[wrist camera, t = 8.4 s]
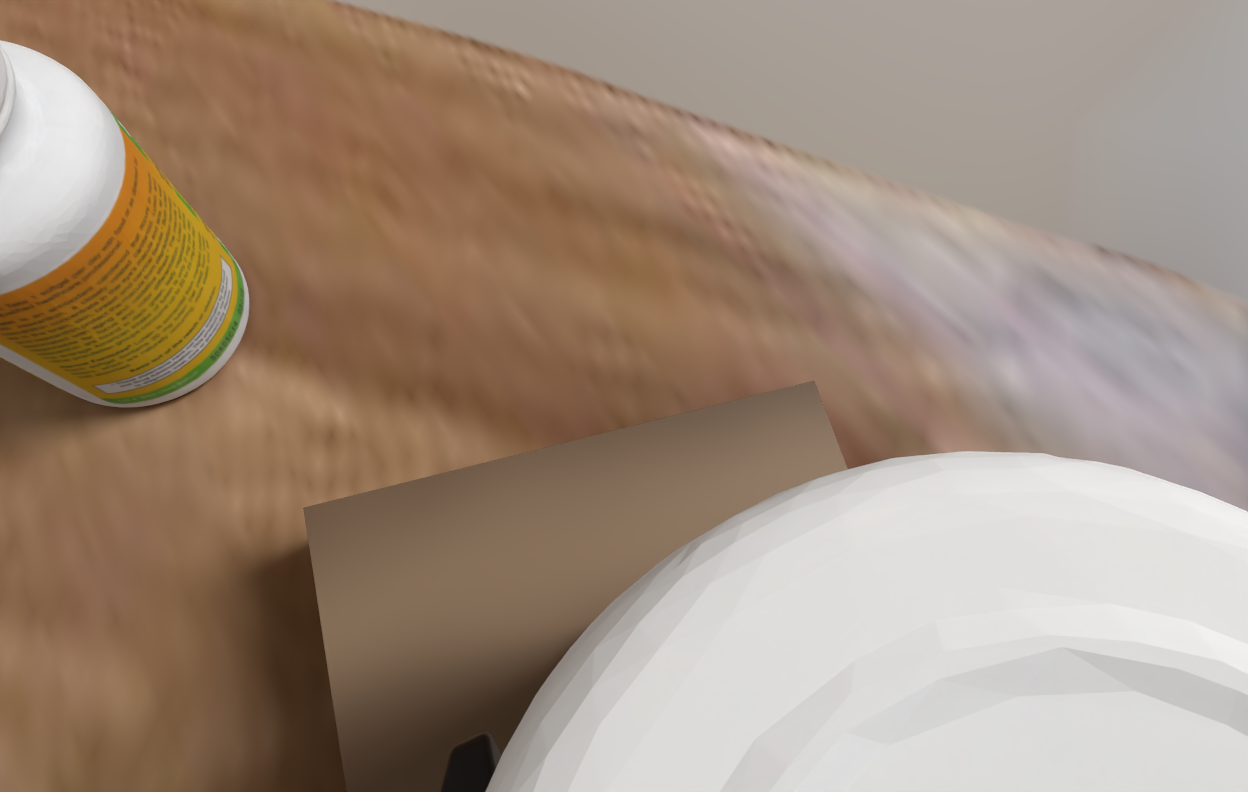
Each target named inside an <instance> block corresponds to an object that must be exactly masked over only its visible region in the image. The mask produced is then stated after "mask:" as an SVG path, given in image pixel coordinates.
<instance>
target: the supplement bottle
mask: <svg viewBox="0 0 1248 792" xmlns="http://www.w3.org/2000/svg"><path fill="white" fill-rule="evenodd" d="M248 316H249V293H248V287H247V283H246V280H245V277H244V275H243V273H242V271H241V268H240V267H239V265H238V263H237V262H236V260H235V259H234V258H233V256H232V255H231V254H230V252H229V251H228V250H227V249H226V247H225V246H224V245H223V244H222V242H221V241H220V240H219V239H218V238H217V236H216V235H215V234H214V233H213V232H212V231H211V230H210V229H209V227H208V226H207V225H206V224H205V223H204V222H203V220H202V219H201V218H200V217H199V216H198V215H197V213H196V212H195V211H194V210H193V209H192V208H191V206H190V205H189V204H188V203H187V202H186V200H185V199H184V198H183V197H182V196H181V195H180V194H179V192H178V191H177V190H176V189H175V188H174V186H173V185H172V184H171V183H170V182H169V181H168V179H167V178H166V177H165V176H164V175H163V173H162V172H161V171H160V170H159V169H158V167H157V166H156V165H155V164H154V163H153V162H152V160H151V159H150V158H149V157H148V156H147V154H146V153H145V152H144V151H143V150H142V149H141V147H140V146H139V145H138V144H137V143H136V142H135V140H134V139H133V138H132V137H131V135H130V134H129V133H128V132H127V130H126V129H125V128H124V127H123V125H122V124H121V123H120V122H119V121H118V119H117V118H116V117H115V116H114V115H113V113H112V112H111V111H110V110H109V109H108V108H107V106H106V105H105V104H104V103H103V102H102V101H101V100H100V99H99V97H98V96H97V95H96V94H95V93H94V92H93V91H92V90H91V89H90V88H89V87H88V86H87V85H86V84H85V83H84V82H83V81H82V79H80V78H79V77H78V76H77V75H76V74H74V73H73V72H72V71H70V70H69V69H67V68H66V67H64V66H63V65H61V64H60V63H58V62H56V61H55V60H53V59H51V58H49V57H47V56H45V55H43V54H41V53H39V52H36V51H34V50H32V49H29V48H26V47H23V46H20V45H17V44H13V43H9V42H6V41H0V358H1V359H3V360H5V361H7V362H9V363H11V364H13V365H15V366H17V367H19V368H21V369H22V370H24V371H26V372H28V373H30V374H32V375H34V376H36V377H38V378H40V379H42V380H44V381H45V382H47V383H49V384H51V385H53V386H55V387H57V388H59V389H61V390H63V391H65V392H68V393H70V394H73V395H75V396H77V397H79V398H81V399H84V400H87V401H89V402H92V403H96V404H100V405H105V406H112V407H142V406H149V405H154V404H159V403H162V402H165V401H169V400H172V399H175V398H177V397H179V396H182V395H184V394H186V393H188V392H190V391H192V390H194V389H196V388H197V387H199V386H200V385H202V384H203V383H205V382H206V381H208V380H209V379H210V378H211V377H213V376H214V375H215V374H216V373H217V372H218V371H219V370H220V369H221V368H222V367H223V366H224V365H225V364H226V362H227V361H228V360H229V358H230V357H231V356H232V354H233V353H234V351H235V350H236V348H237V346H238V345H239V343H240V341H241V339H242V336H243V334H244V331H245V328H246V325H247V320H248Z"/></svg>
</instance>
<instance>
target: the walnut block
mask: <svg viewBox="0 0 1248 792" xmlns="http://www.w3.org/2000/svg"><path fill="white" fill-rule="evenodd" d="M844 470H848V469H847V466H846V463H845V461H844V458H843V455H842V453H841V450H840V447H839V445H838V442H837V440H836V437H835V434H834V432H833V429H832V426H831V424H830V421H829V418H828V416H827V413H826V411H825V408H824V405H823V403H822V400H821V397H820V395H819V392H818V390H817V387H816V384H815V382H814V381H811V382H807V383H803V384H799V385H795V386H791V387H787V388H783V389H779V390H775V391H771V392H767V393H763V394H759V395H755V396H751V397H747V398H743V399H739V400H735V401H731V402H727V403H723V404H719V405H715V406H711V407H707V408H703V409H699V410H695V411H691V412H687V413H683V414H679V415H674V416H670V417H666V418H662V419H658V420H654V421H650V422H646V423H642V424H638V425H634V426H630V427H626V428H622V429H618V430H614V431H610V432H606V433H602V434H598V435H594V436H590V437H586V438H582V439H578V440H574V441H570V442H566V443H562V444H558V445H554V446H550V447H546V448H542V449H538V450H534V451H530V452H526V453H522V454H518V455H514V456H510V457H506V458H502V459H498V460H494V461H490V462H486V463H482V464H478V465H474V466H470V467H466V468H462V469H458V470H454V471H450V472H446V473H442V474H438V475H433V476H429V477H425V478H421V479H417V480H413V481H409V482H405V483H401V484H397V485H393V486H389V487H385V488H381V489H377V490H373V491H369V492H365V493H361V494H357V495H353V496H349V497H345V498H341V499H337V500H333V501H329V502H325V503H321V504H317V505H313V506H309V507H305V508H303V509H304V515H305V522H306V528H307V535H308V542H309V548H310V555H311V562H312V568H313V575H314V581H315V588H316V595H317V601H318V608H319V615H320V621H321V628H322V635H323V641H324V648H325V654H326V661H327V668H328V674H329V681H330V688H331V694H332V701H333V707H334V714H335V721H336V727H337V734H338V741H339V747H340V754H341V760H342V767H343V774H344V780H345V787H346V792H440V790H441V786H442V782H443V778H444V774H445V770H446V766H447V763H448V759H449V755H450V752H451V750H452V749H453V747H454V746H455V745H457V744H458V743H460V742H462V741H464V740H467V739H469V738H471V737H473V736H475V735H477V734H479V733H481V732H488V733H490V734H491V735H492V737H493V739H494V741H495V743H496V745H497V747H498V749H499V751H500V753H501V755H502V754H503V752H504V750H505V748H506V747H507V745H508V743H509V741H510V740H511V738H512V736H513V734H514V732H515V731H516V729H517V727H518V725H519V724H520V722H521V720H522V718H523V716H524V715H525V713H526V711H527V709H528V708H529V706H530V704H531V702H532V701H533V699H534V697H535V695H536V694H537V692H538V691H539V690H540V688H541V687H542V685H543V684H544V682H545V681H546V679H547V678H548V677H549V675H550V674H551V672H552V671H553V670H554V668H555V667H556V666H557V665H558V663H559V662H560V661H561V659H562V658H563V657H564V655H565V654H566V653H567V651H568V650H569V649H570V648H571V646H572V645H573V644H574V643H575V642H576V641H577V639H578V638H579V637H580V636H581V635H582V634H583V632H584V631H585V630H586V629H587V628H588V627H589V625H590V624H591V623H592V622H593V621H594V620H595V619H596V618H597V617H598V616H599V615H600V614H601V613H602V612H603V611H604V610H605V609H606V608H607V607H608V606H609V605H610V604H611V603H612V602H613V601H614V600H615V599H616V598H617V597H619V596H620V595H621V594H622V593H623V592H624V591H626V590H627V589H628V588H629V587H630V586H632V585H633V584H634V583H635V582H636V581H637V580H639V579H640V578H641V577H642V576H643V575H645V574H646V573H647V572H648V571H649V570H651V569H652V568H653V567H654V566H655V565H657V564H658V563H659V562H661V561H662V560H663V559H665V558H666V557H667V556H669V555H670V554H671V553H673V552H674V551H676V550H677V549H679V548H681V547H682V546H684V545H686V544H687V543H689V542H691V541H692V540H694V539H696V538H697V537H699V536H701V535H702V534H704V533H706V532H707V531H709V530H711V529H712V528H714V527H716V526H717V525H719V524H721V523H722V522H724V521H726V520H727V519H729V518H731V517H732V516H734V515H736V514H738V513H740V512H742V511H744V510H746V509H748V508H750V507H752V506H754V505H756V504H758V503H760V502H762V501H764V500H766V499H768V498H770V497H772V496H774V495H775V494H778V493H780V492H783V491H785V490H788V489H791V488H793V487H796V486H799V485H801V484H804V483H807V482H809V481H812V480H815V479H817V478H820V477H824V476H827V475H830V474H833V473H836V472H840V471H844Z"/></svg>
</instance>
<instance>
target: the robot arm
mask: <svg viewBox="0 0 1248 792" xmlns="http://www.w3.org/2000/svg"><path fill="white" fill-rule="evenodd" d="M501 756H502V755H501V753H500V751H499V749H498V747H497V745H496V743H495V741H494V739H493V737H492V735H491V734H490V733H488V732H481V733H479V734H477V735H475V736H473V737H471V738H469V739H467V740H464V741H462V742H460V743H458V744H457V745H455V746H454V747H453V749H452V750H451V752H450V755H449V759H448V763H447V766H446V770H445V774H444V778H443V782H442V786H441V790H440V792H486V789H487V787H488V785H489V783H490V780H491V778H492V776H493V774H494V772H495V769H496V767H497V765H498V763H499V760H500V758H501Z"/></svg>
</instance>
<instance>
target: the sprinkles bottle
mask: <svg viewBox="0 0 1248 792" xmlns="http://www.w3.org/2000/svg"><path fill="white" fill-rule="evenodd" d="M486 792H1248V512H1247V511H1245V510H1242V509H1240V508H1238V507H1235V506H1233V505H1230V504H1228V503H1226V502H1223V501H1221V500H1218V499H1216V498H1214V497H1211V496H1209V495H1206V494H1204V493H1202V492H1199V491H1196V490H1193V489H1190V488H1187V487H1184V486H1181V485H1178V484H1175V483H1172V482H1168V481H1165V480H1162V479H1159V478H1156V477H1153V476H1150V475H1147V474H1144V473H1141V472H1138V471H1135V470H1132V469H1129V468H1125V467H1120V466H1115V465H1110V464H1106V463H1101V462H1095V461H1087V460H1078V459H1070V458H1061V457H1055V456H1052V455H1048V454H1045V453H1010V452H969V451H962V452H952V453H942V454H931V455H921V456H911V457H900V458H891V459H887V460H884V461H880V462H876V463H872V464H868V465H864V466H860V467H856V468H852V469H848V470H844V471H840V472H836V473H833V474H830V475H827V476H824V477H820V478H817V479H815V480H812V481H809V482H807V483H804V484H801V485H799V486H796V487H793V488H791V489H788V490H785V491H783V492H780V493H778V494H775V495H774V496H772V497H770V498H768V499H766V500H764V501H762V502H760V503H758V504H756V505H754V506H752V507H750V508H748V509H746V510H744V511H742V512H740V513H738V514H736V515H734V516H732V517H731V518H729V519H727V520H726V521H724V522H722V523H721V524H719V525H717V526H716V527H714V528H712V529H711V530H709V531H707V532H706V533H704V534H702V535H701V536H699V537H697V538H696V539H694V540H692V541H691V542H689V543H687V544H686V545H684V546H682V547H681V548H679V549H677V550H676V551H674V552H673V553H671V554H670V555H669V556H667V557H666V558H665V559H663V560H662V561H661V562H659V563H658V564H657V565H655V566H654V567H653V568H652V569H651V570H649V571H648V572H647V573H646V574H645V575H643V576H642V577H641V578H640V579H639V580H637V581H636V582H635V583H634V584H633V585H632V586H630V587H629V588H628V589H627V590H626V591H624V592H623V593H622V594H621V595H620V596H619V597H617V598H616V599H615V600H614V601H613V602H612V603H611V604H610V605H609V606H608V607H607V608H606V609H605V610H604V611H603V612H602V613H601V614H600V615H599V616H598V617H597V618H596V619H595V620H594V621H593V622H592V623H591V624H590V625H589V627H588V628H587V629H586V630H585V631H584V632H583V634H582V635H581V636H580V637H579V638H578V639H577V641H576V642H575V643H574V644H573V645H572V646H571V648H570V649H569V650H568V651H567V653H566V654H565V655H564V657H563V658H562V659H561V661H560V662H559V663H558V665H557V666H556V667H555V668H554V670H553V671H552V672H551V674H550V675H549V677H548V678H547V679H546V681H545V682H544V684H543V685H542V687H541V688H540V690H539V691H538V692H537V694H536V695H535V697H534V699H533V701H532V702H531V704H530V706H529V708H528V709H527V711H526V713H525V715H524V716H523V718H522V720H521V722H520V724H519V725H518V727H517V729H516V731H515V732H514V734H513V736H512V738H511V740H510V741H509V743H508V745H507V747H506V748H505V750H504V752H503V754H502V756H501V758H500V760H499V763H498V765H497V767H496V769H495V772H494V774H493V776H492V778H491V780H490V783H489V785H488V787H487V789H486Z"/></svg>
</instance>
